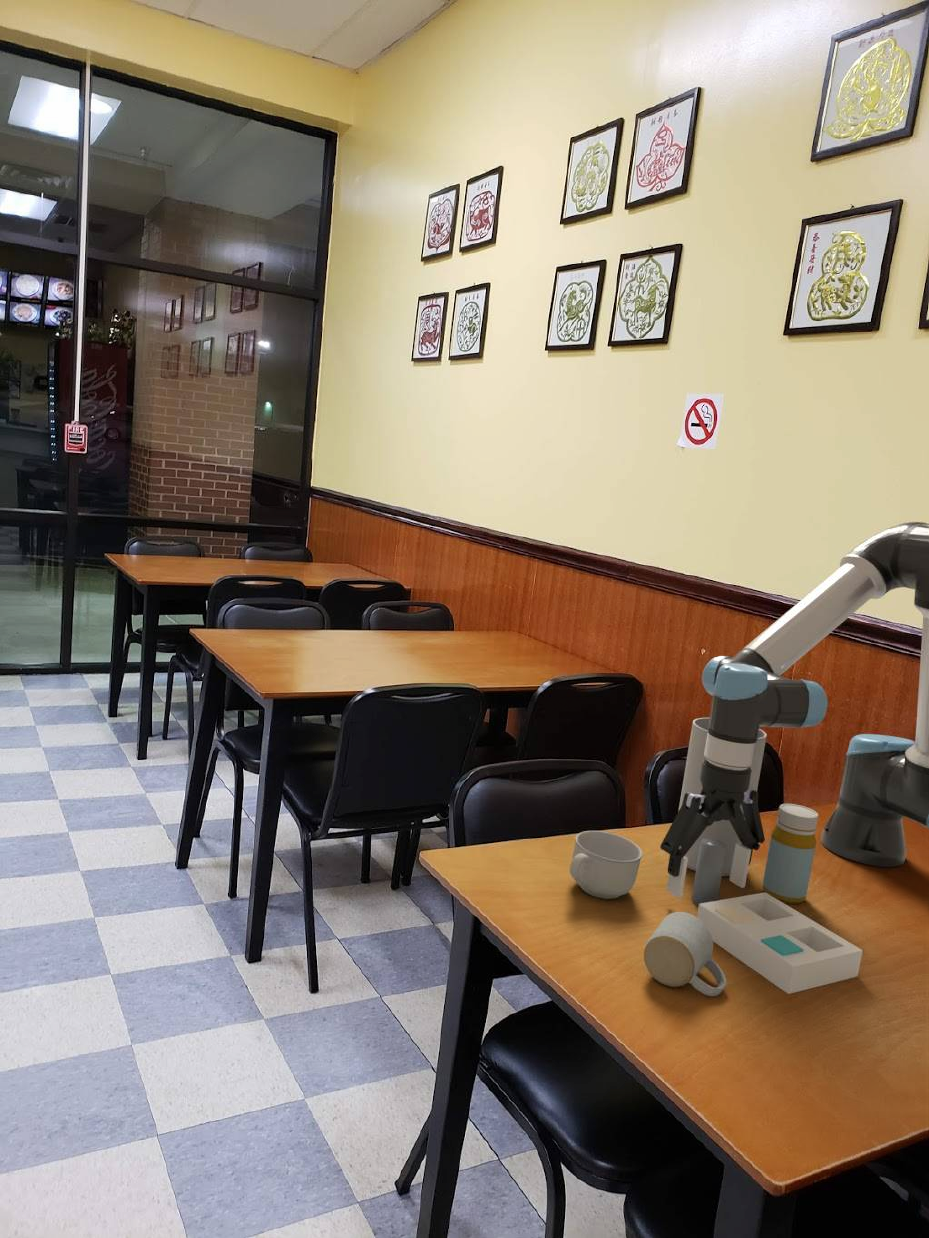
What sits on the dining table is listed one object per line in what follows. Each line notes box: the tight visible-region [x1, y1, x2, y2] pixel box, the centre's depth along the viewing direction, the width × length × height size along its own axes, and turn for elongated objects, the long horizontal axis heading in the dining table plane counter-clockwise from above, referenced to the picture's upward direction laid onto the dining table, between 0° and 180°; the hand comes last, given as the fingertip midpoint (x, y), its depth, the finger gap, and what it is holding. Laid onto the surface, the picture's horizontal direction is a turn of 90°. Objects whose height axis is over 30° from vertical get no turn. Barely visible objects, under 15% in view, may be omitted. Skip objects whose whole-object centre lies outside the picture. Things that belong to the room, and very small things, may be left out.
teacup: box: [569, 830, 643, 900], centre depth 145 cm, size 14×11×8 cm
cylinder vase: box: [677, 717, 768, 877], centre depth 160 cm, size 12×12×25 cm
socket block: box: [696, 891, 864, 995], centre depth 132 cm, size 14×18×4 cm
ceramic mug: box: [643, 911, 727, 997], centre depth 121 cm, size 11×8×8 cm
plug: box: [691, 838, 727, 907], centre depth 145 cm, size 4×4×10 cm
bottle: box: [761, 803, 819, 905], centre depth 151 cm, size 7×7×15 cm
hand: (706, 888), depth 146 cm, fingers open, 13 cm apart
